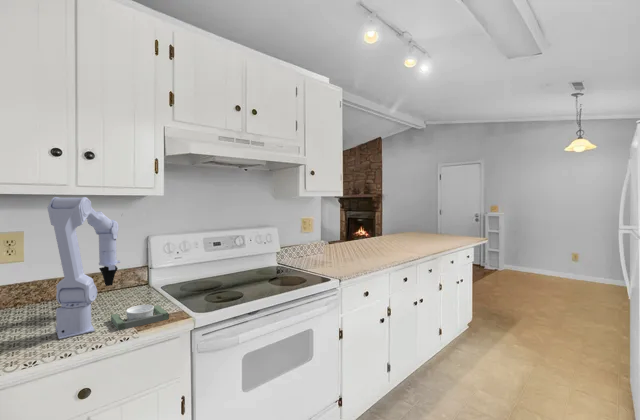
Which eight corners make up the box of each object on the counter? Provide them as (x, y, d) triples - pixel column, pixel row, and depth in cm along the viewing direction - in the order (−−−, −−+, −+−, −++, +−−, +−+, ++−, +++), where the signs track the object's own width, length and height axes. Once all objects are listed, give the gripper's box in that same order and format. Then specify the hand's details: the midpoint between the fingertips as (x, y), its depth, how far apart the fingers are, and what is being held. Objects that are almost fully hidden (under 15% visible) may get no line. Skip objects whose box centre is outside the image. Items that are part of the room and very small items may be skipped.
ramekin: (141, 326, 118) (141, 313, 118) (120, 323, 120) (119, 311, 120) (159, 317, 126) (159, 305, 126) (139, 315, 128) (138, 303, 128)
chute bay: (118, 330, 114) (118, 324, 113) (111, 320, 123) (110, 314, 122) (168, 318, 124) (168, 313, 124) (158, 310, 133) (158, 305, 133)
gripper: (123, 252, 130) (124, 287, 131) (115, 247, 141) (116, 280, 142) (102, 254, 126) (103, 290, 126) (95, 249, 137) (96, 283, 137)
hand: (108, 285), depth 134 cm, fingers closed
